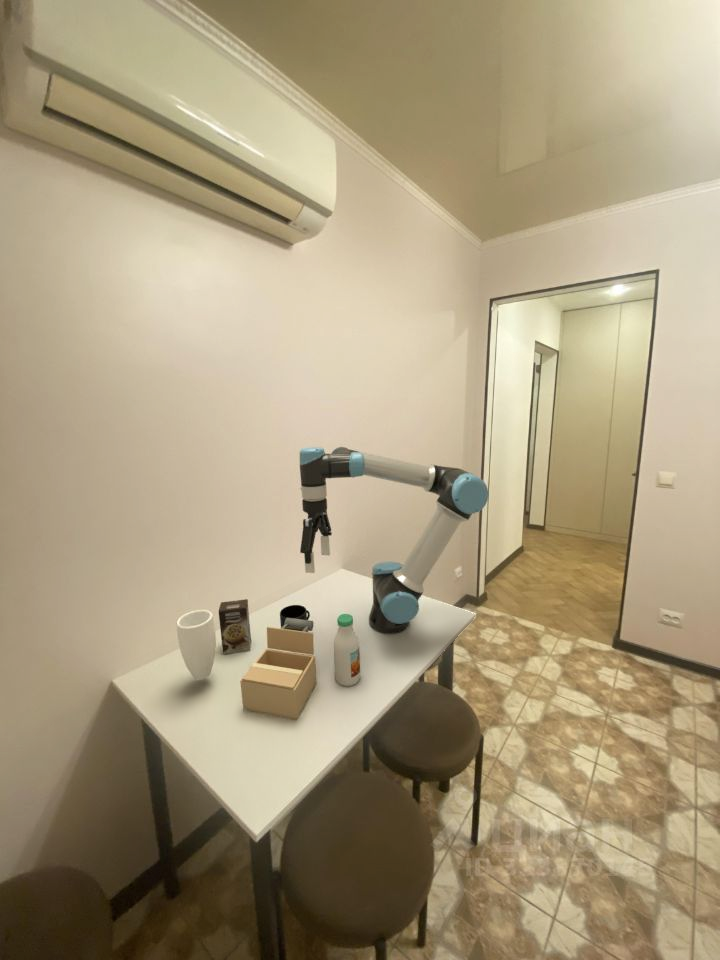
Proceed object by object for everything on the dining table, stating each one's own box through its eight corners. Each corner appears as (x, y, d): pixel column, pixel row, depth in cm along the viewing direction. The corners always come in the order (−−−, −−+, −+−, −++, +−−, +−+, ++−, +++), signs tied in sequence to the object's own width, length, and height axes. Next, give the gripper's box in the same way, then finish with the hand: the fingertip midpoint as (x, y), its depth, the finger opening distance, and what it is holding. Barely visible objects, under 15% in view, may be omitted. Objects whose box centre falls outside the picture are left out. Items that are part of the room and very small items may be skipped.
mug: (318, 629, 141) (317, 607, 140) (292, 645, 133) (290, 621, 131) (302, 620, 148) (300, 599, 146) (276, 635, 139) (274, 612, 137)
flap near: (313, 654, 113) (323, 640, 121) (312, 632, 112) (322, 620, 120) (267, 648, 117) (280, 634, 125) (266, 626, 116) (279, 615, 124)
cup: (185, 677, 119) (176, 613, 115) (220, 667, 123) (213, 605, 119) (183, 700, 110) (173, 632, 105) (222, 689, 113) (214, 623, 109)
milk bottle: (343, 690, 111) (339, 628, 107) (330, 675, 118) (327, 615, 114) (365, 679, 115) (363, 619, 111) (352, 665, 122) (349, 607, 118)
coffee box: (222, 655, 129) (217, 611, 126) (225, 643, 135) (220, 601, 132) (250, 651, 131) (246, 607, 127) (251, 639, 137) (247, 598, 134)
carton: (316, 682, 115) (314, 653, 113) (297, 720, 101) (294, 687, 100) (268, 674, 119) (265, 646, 117) (243, 709, 106) (239, 678, 104)
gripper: (317, 488, 131) (321, 547, 135) (285, 508, 107) (290, 579, 112) (338, 489, 129) (341, 549, 133) (310, 509, 105) (314, 581, 110)
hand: (318, 563), depth 122 cm, fingers open, 13 cm apart
